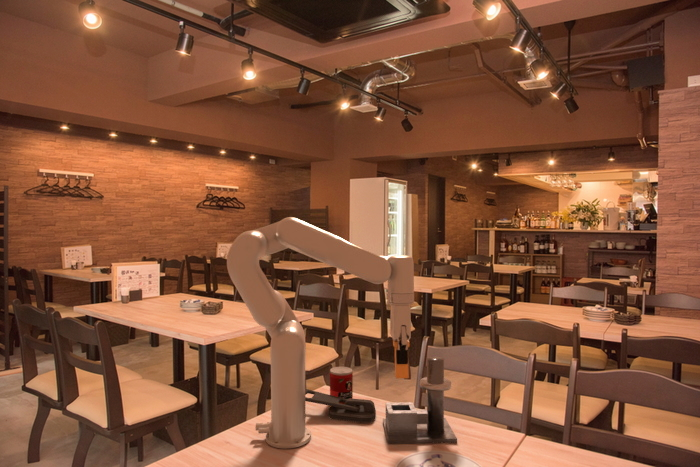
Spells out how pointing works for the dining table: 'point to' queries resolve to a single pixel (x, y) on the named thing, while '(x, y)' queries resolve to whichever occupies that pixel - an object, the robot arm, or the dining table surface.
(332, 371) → the canned food
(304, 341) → the robot arm
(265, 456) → the dining table surface
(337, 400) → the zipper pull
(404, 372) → the orange tapered block
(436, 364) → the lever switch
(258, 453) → the dining table surface
